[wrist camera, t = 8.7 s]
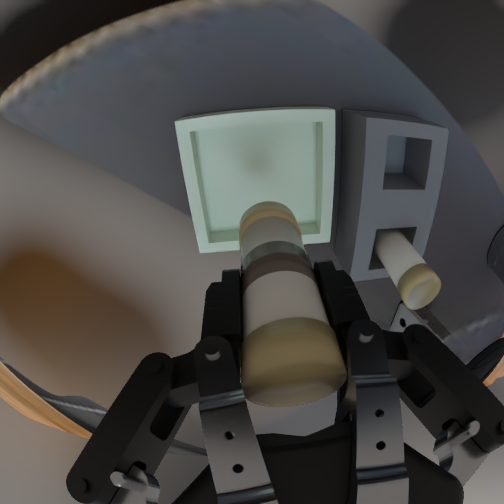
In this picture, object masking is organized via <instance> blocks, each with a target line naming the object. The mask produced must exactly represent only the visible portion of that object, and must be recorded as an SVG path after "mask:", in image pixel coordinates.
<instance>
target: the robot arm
mask: <svg viewBox="0 0 504 504" xmlns="http://www.w3.org/2000/svg"><path fill="white" fill-rule="evenodd" d="M487 261H488V265H489V267H490V268H491V269H492V270H493V271H494V272H495V274H496V275H497V276H498V277H499V279H500V280H501V281H502V282H503V284H504V227H502V229H501V230H500V231H499V232H498V234H497V235H496V237H495V239H494V240H493V242H492V244H491V247H490V250H489V253H488V259H487ZM313 271H314V274H315V277H316V280H317V283H318V286H319V289H320V296H321V299H322V302H323V305H324V308H325V311H326V315H327V318H328V321H329V324H330V326H331V327H332V328H333V330H334V332H335V334H336V338H337V341H338V344H339V348H340V351H341V354H342V358H343V361H344V365H345V368H346V372H347V378H346V381H345V382H344V384H343V385H342V386H341V387H340V388H339V389H338V390H337V409H336V415H335V421H334V425H332V426H330V427H327V428H325V429H323V430H320V431H318V432H315V433H313V434H310V435H308V436H293V435H284V434H275V433H271V434H258V435H256V434H255V431H254V427H253V424H252V421H251V417H250V414H249V411H248V407H247V403H246V400H245V396H244V393H243V389H242V386H241V382H240V381H241V369H240V368H241V345H242V342H243V314H242V302H241V277H240V270H239V269H230V270H223V271H222V282H214V283H211V285H210V286H209V288H208V289H207V291H206V297H205V306H204V314H203V324H202V333H201V340H200V341H199V342H198V343H197V344H196V346H195V348H194V349H193V350H192V351H191V352H189V353H187V354H184V355H181V356H177V357H174V358H170V356H168V355H167V354H165V353H160V352H157V353H152V354H149V355H148V356H146V357H145V358H144V359H143V360H142V361H141V362H140V364H139V365H138V367H137V368H136V370H135V371H134V373H133V374H132V375H131V377H130V379H129V380H128V382H127V383H126V384H125V386H124V387H123V389H122V390H121V392H120V394H119V395H118V396H117V398H116V399H115V401H114V403H113V404H112V406H111V407H110V408H109V410H108V412H107V413H106V415H105V416H104V418H103V419H102V421H101V422H100V424H99V425H98V427H97V429H96V430H95V432H94V433H93V435H92V436H91V438H90V439H89V441H88V443H87V444H86V446H85V447H84V449H83V451H82V452H81V454H80V455H79V457H78V459H77V460H76V462H75V464H74V465H73V467H72V468H71V470H70V472H69V473H68V475H67V479H66V484H67V489H68V491H69V492H70V494H71V496H72V497H73V498H74V499H75V500H77V501H78V502H80V503H84V504H158V496H159V493H160V484H159V482H158V480H157V478H156V477H155V476H154V473H155V471H156V469H157V468H158V466H159V464H160V462H161V460H162V459H163V457H164V455H165V453H166V451H167V450H168V448H169V446H170V444H171V442H172V441H173V439H174V437H175V435H176V433H177V431H178V430H179V428H180V426H181V424H182V422H183V420H184V419H185V417H186V415H187V413H188V411H189V409H190V407H191V406H192V404H195V403H198V402H199V413H200V419H201V424H202V429H203V435H204V440H205V444H206V450H207V454H208V459H209V464H208V465H207V467H206V468H205V469H204V470H203V471H202V472H201V473H200V475H199V476H198V477H197V478H196V479H195V480H194V481H193V482H192V483H191V484H190V485H189V486H188V487H187V488H186V490H184V491H183V492H182V494H181V495H180V496H179V497H178V498H177V499H176V500H175V501H174V502H173V503H172V504H463V499H464V491H463V486H464V485H465V483H466V482H467V481H468V480H469V479H470V477H471V476H472V475H473V474H474V473H475V471H476V470H477V469H478V468H479V466H480V465H481V463H482V462H483V461H484V460H485V458H486V457H487V455H488V454H489V453H490V452H491V451H493V450H495V449H497V448H499V447H500V446H502V445H504V406H503V405H502V403H501V402H500V401H499V400H498V399H497V398H496V397H495V396H494V394H493V393H492V392H491V391H490V390H489V389H488V388H487V387H486V386H485V385H484V384H483V383H482V382H481V381H480V379H479V378H478V377H477V376H476V375H475V374H474V373H473V372H472V371H471V370H470V369H469V368H468V367H467V366H466V365H465V364H464V363H463V362H462V361H461V360H460V359H459V358H458V357H457V356H456V355H455V354H454V353H453V352H452V351H451V350H450V349H449V348H448V347H447V346H446V345H445V344H444V343H443V342H442V341H441V340H440V339H439V338H437V337H436V336H435V335H434V334H433V333H432V332H431V331H430V330H429V329H428V328H427V327H425V326H423V325H420V324H411V325H409V326H407V327H406V328H405V330H404V331H403V332H393V331H385V330H382V329H381V327H380V326H379V325H378V324H377V323H375V322H374V321H371V320H370V318H369V315H368V313H367V311H366V309H365V306H364V304H363V302H362V300H361V297H360V295H359V294H358V291H357V289H356V287H355V284H354V282H353V280H352V278H351V277H350V276H349V275H348V274H347V273H346V272H345V271H344V270H339V271H336V269H335V267H334V265H333V262H332V261H331V260H326V261H316V262H314V270H313ZM400 398H401V399H402V400H403V401H404V403H405V404H406V405H407V406H408V407H409V409H410V410H411V411H412V412H413V413H414V414H415V415H416V417H417V418H418V419H419V420H420V421H421V422H422V423H423V425H424V426H425V427H426V428H427V429H428V431H429V432H430V433H431V434H432V435H433V436H434V437H435V439H436V440H435V444H434V449H433V452H434V454H435V455H437V456H438V458H439V466H438V465H437V464H435V463H434V462H432V461H431V460H429V459H428V458H426V457H425V456H423V455H422V454H420V453H419V452H417V451H416V450H414V449H413V448H412V447H410V446H409V445H407V444H406V443H404V441H403V426H402V415H401V404H400Z"/></svg>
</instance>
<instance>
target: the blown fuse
mask: <svg viewBox="0 0 504 504" xmlns="http://www.w3.org/2000/svg"><path fill="white" fill-rule="evenodd" d="M239 247H240V250H241V270H240V276H241V302H242V314H243V342H242V345H241V386H242V389H243V393H244V396H245V398H246V399H247V400H249V401H250V402H252V403H255V404H258V405H262V406H268V407H292V406H299V405H304V404H308V403H312V402H315V401H318V400H320V399H323V398H325V397H327V396H329V395H330V394H332V393H334V392H335V391H336V390H338V389H339V388H340V387H341V386H342V385H343V384H344V382H345V381H346V378H347V372H346V368H345V365H344V361H343V358H342V354H341V351H340V348H339V344H338V341H337V338H336V334H335V332H334V330H333V328H332V327H331V326H330V324H329V321H328V318H327V315H326V311H325V308H324V305H323V302H322V299H321V296H320V289H319V286H318V283H317V280H316V277H315V274H314V271H313V268H312V265H311V262H310V259H309V257H308V255H307V253H306V251H305V248H304V245H303V242H302V235H301V231H300V229H299V226H298V223H297V221H296V218H295V216H294V214H293V212H292V211H291V210H290V209H289V208H288V207H287V206H285V205H283V204H281V203H278V202H274V201H265V202H260V203H257V204H255V205H253V206H251V207H250V208H249V209H247V210H246V211H245V213H244V214H243V216H242V217H241V220H240V223H239Z"/></svg>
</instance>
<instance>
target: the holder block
mask: <svg viewBox="0 0 504 504" xmlns="http://www.w3.org/2000/svg"><path fill="white" fill-rule="evenodd" d="M448 132H449V129H448V128H446V127H443V126H441V125H438V124H435V123H433V122H430V121H427V120H424V119H421V118H418V117H413V116H407V115H400V114H392V113H383V112H373V111H360V110H344V109H342V160H341V182H340V198H339V211H338V223H337V233H336V243H335V254H336V256H337V258H338V260H339V262H340V264H341V266H342V268H343V270H344V271H345V272H346V273H347V274H348V275H349V276H350V277H351V278H352V280H353V282H355V281H363V280H370V279H378V278H385V277H390V275H389V274H388V272H387V270H386V269H385V267H384V265H383V264H382V262H381V261H380V259H379V257H378V256H377V254H376V253H375V251H374V250H373V245H374V240H375V234H376V229H389V228H398V229H399V230H400V231H401V232H402V234H403V235H404V236H405V237H406V238H407V240H408V241H409V242H410V243H411V245H412V246H413V247H414V248H415V250H416V251H417V252H418V253H419V255H420V256H421V257H423V254H424V251H425V247H426V244H427V241H428V237H429V234H430V230H431V226H432V222H433V218H434V214H435V210H436V206H437V201H438V197H439V192H440V187H441V182H442V176H443V170H444V164H445V157H446V150H447V141H448Z"/></svg>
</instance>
